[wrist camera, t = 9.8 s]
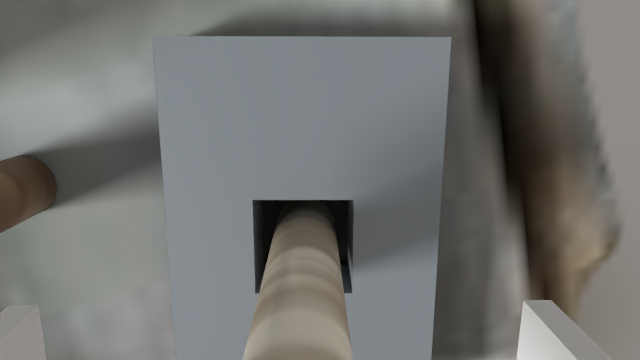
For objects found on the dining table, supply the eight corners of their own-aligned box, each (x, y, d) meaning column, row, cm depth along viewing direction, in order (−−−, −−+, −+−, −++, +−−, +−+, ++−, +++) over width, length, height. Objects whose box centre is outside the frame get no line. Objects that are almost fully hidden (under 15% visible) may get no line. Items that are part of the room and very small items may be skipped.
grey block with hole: (176, 41, 22) (152, 35, 19) (430, 42, 23) (451, 36, 19) (197, 377, 26) (180, 423, 23) (413, 376, 27) (427, 421, 23)
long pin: (276, 197, 24) (228, 360, 11) (335, 198, 24) (363, 362, 11) (276, 252, 25) (230, 473, 11) (333, 253, 25) (357, 474, 11)
